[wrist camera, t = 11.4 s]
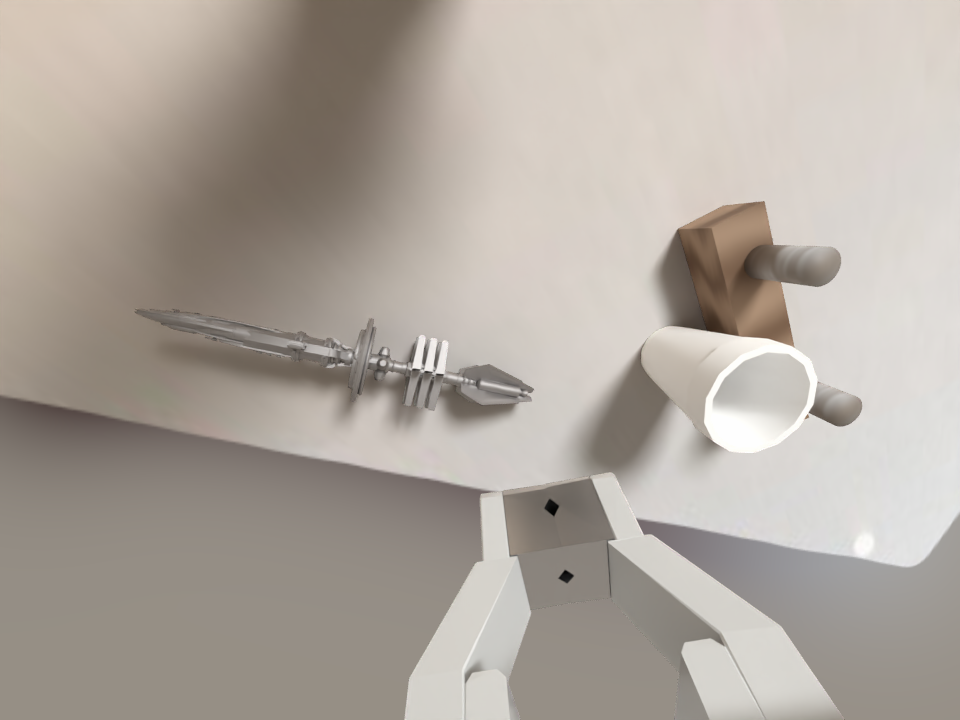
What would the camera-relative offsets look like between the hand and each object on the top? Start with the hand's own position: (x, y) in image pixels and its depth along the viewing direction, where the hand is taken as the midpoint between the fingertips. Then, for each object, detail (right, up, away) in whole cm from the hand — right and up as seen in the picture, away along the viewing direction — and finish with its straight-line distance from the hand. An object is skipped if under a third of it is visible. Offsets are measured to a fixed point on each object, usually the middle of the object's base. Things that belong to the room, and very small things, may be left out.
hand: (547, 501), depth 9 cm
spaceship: (-13, +5, +30) cm, 33 cm away
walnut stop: (+26, +8, +33) cm, 43 cm away
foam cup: (+19, +4, +34) cm, 39 cm away
